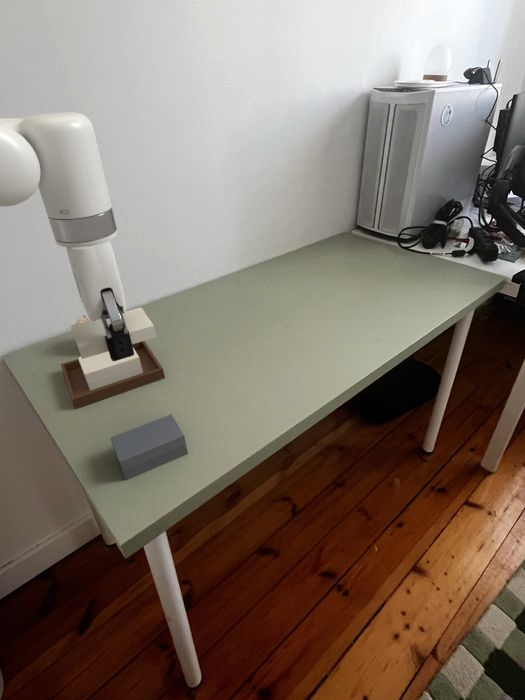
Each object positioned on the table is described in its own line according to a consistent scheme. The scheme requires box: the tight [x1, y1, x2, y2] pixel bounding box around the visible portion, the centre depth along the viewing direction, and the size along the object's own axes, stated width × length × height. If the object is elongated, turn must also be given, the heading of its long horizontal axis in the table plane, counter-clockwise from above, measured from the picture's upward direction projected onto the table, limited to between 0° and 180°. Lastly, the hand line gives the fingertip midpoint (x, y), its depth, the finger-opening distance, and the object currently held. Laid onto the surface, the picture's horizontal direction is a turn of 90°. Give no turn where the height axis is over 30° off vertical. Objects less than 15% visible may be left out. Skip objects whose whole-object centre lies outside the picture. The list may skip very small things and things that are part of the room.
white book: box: [70, 307, 157, 359], centre depth 63 cm, size 10×7×2 cm, turn 119°
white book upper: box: [77, 348, 141, 383], centre depth 85 cm, size 10×7×2 cm, turn 120°
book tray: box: [60, 340, 166, 410], centre depth 87 cm, size 17×13×2 cm
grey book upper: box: [110, 414, 187, 471], centre depth 67 cm, size 10×6×2 cm, turn 120°
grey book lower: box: [112, 444, 188, 481], centre depth 69 cm, size 10×6×2 cm, turn 120°
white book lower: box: [83, 365, 143, 391], centre depth 87 cm, size 10×7×2 cm, turn 120°
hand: (116, 344), depth 64 cm, fingers closed on white book, 6 cm apart
